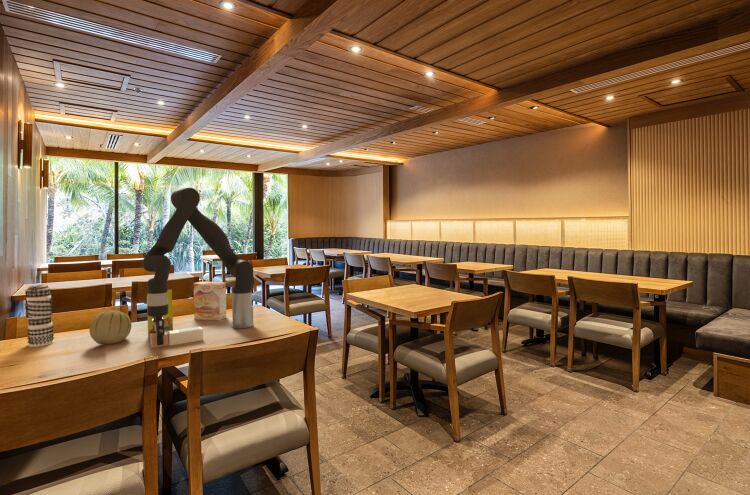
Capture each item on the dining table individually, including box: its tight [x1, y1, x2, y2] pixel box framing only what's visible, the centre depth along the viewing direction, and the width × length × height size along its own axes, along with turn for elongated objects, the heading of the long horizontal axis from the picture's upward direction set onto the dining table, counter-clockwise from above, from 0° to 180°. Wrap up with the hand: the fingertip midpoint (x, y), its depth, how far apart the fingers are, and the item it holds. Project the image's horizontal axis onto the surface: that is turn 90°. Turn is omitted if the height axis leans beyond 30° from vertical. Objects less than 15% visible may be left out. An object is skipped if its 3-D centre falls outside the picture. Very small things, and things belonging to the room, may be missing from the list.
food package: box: [146, 289, 174, 338], centre depth 177 cm, size 15×1×20 cm, turn 168°
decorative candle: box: [24, 284, 55, 348], centre depth 164 cm, size 9×9×25 cm
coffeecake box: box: [193, 281, 227, 321], centre depth 207 cm, size 15×7×20 cm, turn 80°
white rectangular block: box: [167, 326, 204, 347], centre depth 165 cm, size 13×5×5 cm, turn 126°
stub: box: [149, 331, 169, 349], centre depth 159 cm, size 6×5×5 cm
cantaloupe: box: [88, 307, 132, 346], centre depth 164 cm, size 15×15×15 cm
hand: (158, 342), depth 159 cm, fingers open, 8 cm apart
